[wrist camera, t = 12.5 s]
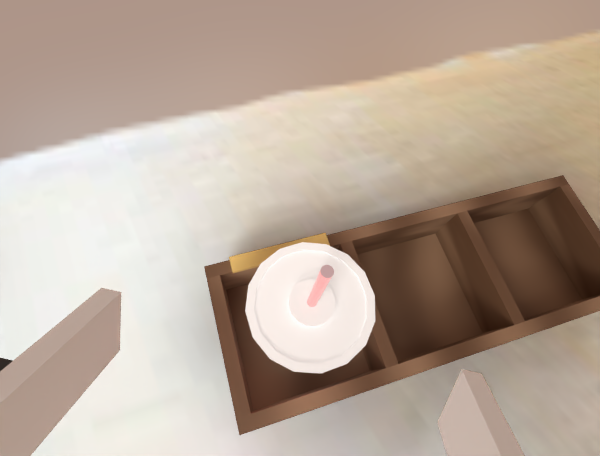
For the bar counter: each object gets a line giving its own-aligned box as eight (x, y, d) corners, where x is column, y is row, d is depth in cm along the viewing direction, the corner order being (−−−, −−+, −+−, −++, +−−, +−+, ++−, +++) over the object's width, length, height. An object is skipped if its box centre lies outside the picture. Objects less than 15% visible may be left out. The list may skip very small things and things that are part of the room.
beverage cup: (240, 364, 24) (208, 336, 11) (267, 277, 26) (266, 174, 14) (330, 390, 24) (402, 392, 11) (349, 300, 26) (425, 216, 13)
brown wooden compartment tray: (523, 199, 32) (563, 169, 27) (588, 309, 28) (647, 294, 24) (213, 281, 27) (202, 260, 22) (244, 426, 23) (239, 435, 19)
